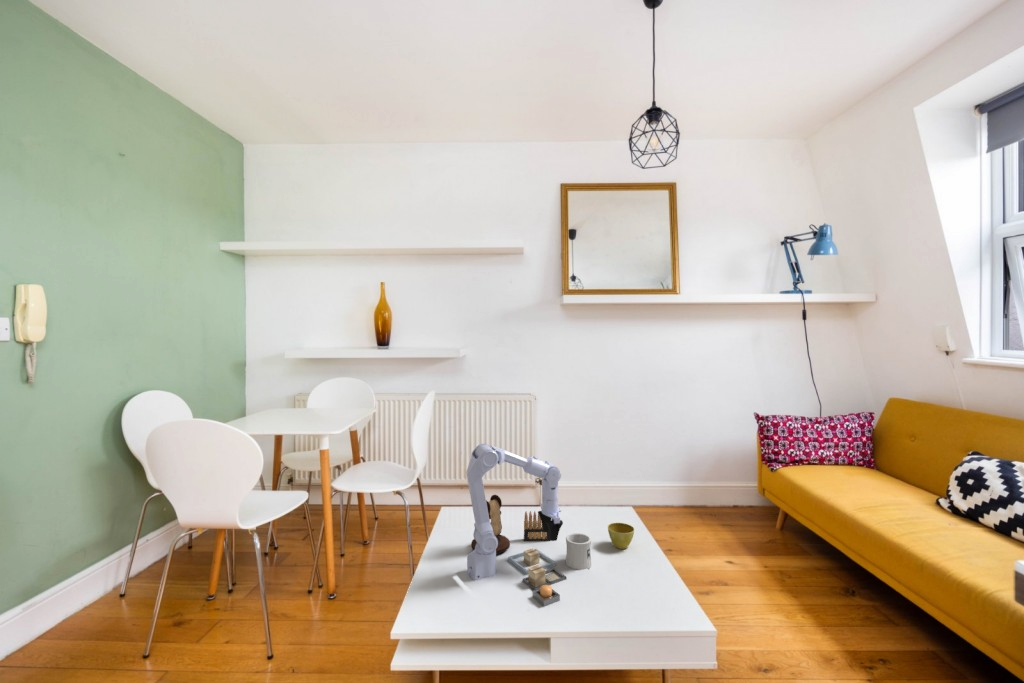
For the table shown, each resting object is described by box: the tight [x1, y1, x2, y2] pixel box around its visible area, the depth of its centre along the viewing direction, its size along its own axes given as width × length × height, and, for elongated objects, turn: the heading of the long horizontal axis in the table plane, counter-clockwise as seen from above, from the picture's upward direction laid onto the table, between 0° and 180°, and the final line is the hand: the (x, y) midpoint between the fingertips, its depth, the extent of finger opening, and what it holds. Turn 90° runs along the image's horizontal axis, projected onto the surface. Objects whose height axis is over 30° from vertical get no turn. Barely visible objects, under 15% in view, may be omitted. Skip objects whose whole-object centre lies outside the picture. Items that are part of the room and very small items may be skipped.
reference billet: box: [527, 564, 546, 587], centre depth 151 cm, size 4×4×5 cm
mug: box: [565, 532, 592, 571], centre depth 166 cm, size 12×9×10 cm
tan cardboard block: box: [523, 548, 540, 567], centre depth 164 cm, size 4×4×5 cm
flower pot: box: [607, 522, 635, 550], centre depth 180 cm, size 10×10×7 cm
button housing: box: [531, 588, 561, 608], centre depth 142 cm, size 6×6×3 cm
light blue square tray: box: [507, 548, 557, 576], centre depth 165 cm, size 12×12×2 cm
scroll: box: [470, 494, 511, 555], centre depth 177 cm, size 15×15×20 cm
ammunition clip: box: [523, 510, 552, 542], centre depth 184 cm, size 11×2×12 cm, turn 90°
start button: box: [540, 585, 553, 599], centre depth 142 cm, size 4×4×3 cm
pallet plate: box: [522, 568, 567, 591], centre depth 153 cm, size 14×9×2 cm, turn 122°
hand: (549, 535), depth 166 cm, fingers open, 7 cm apart
